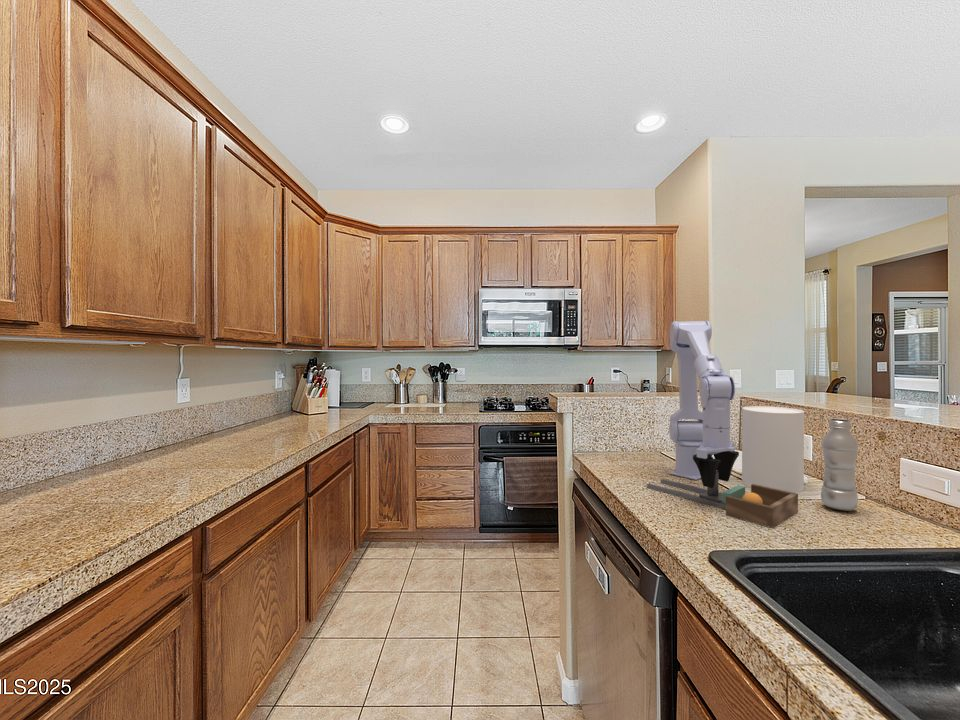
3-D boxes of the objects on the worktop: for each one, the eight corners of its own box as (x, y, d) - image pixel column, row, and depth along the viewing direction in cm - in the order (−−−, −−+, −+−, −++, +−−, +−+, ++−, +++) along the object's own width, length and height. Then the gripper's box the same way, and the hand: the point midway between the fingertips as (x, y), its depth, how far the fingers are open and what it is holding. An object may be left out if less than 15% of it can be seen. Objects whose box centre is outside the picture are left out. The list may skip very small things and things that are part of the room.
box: (752, 500, 102) (752, 483, 102) (797, 511, 95) (798, 493, 95) (725, 514, 94) (725, 496, 94) (772, 528, 87) (772, 508, 87)
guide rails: (662, 482, 117) (662, 478, 117) (742, 502, 101) (742, 498, 101) (647, 487, 113) (646, 483, 113) (727, 509, 97) (727, 505, 97)
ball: (768, 509, 95) (748, 508, 99) (763, 490, 96) (744, 490, 99) (760, 513, 93) (741, 512, 96) (755, 494, 94) (736, 494, 97)
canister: (760, 474, 123) (760, 405, 123) (814, 487, 111) (815, 410, 111) (731, 481, 117) (731, 408, 117) (785, 496, 105) (785, 414, 105)
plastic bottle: (849, 505, 99) (849, 418, 98) (864, 516, 92) (865, 423, 92) (815, 502, 101) (816, 417, 100) (828, 512, 94) (828, 421, 94)
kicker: (712, 492, 107) (712, 466, 107) (745, 501, 101) (745, 473, 101) (695, 499, 102) (695, 472, 102) (729, 509, 96) (729, 479, 96)
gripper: (719, 433, 94) (719, 494, 95) (748, 425, 103) (747, 481, 104) (687, 428, 100) (687, 486, 101) (717, 421, 109) (717, 474, 109)
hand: (716, 483), depth 102 cm, fingers open, 7 cm apart
